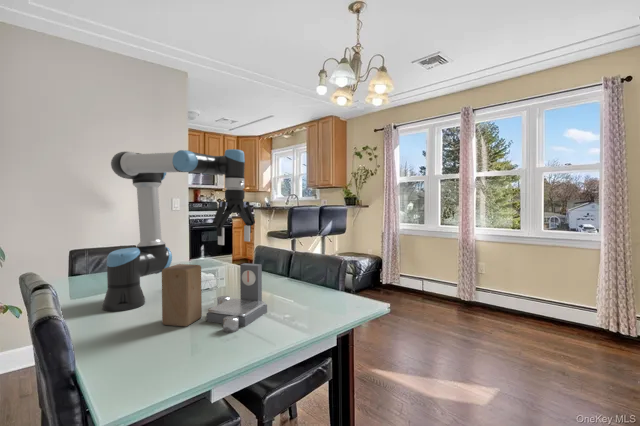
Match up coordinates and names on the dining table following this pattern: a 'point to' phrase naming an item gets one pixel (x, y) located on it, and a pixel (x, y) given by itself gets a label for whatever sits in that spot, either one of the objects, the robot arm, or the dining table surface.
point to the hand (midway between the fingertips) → (234, 243)
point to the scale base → (246, 294)
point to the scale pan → (237, 307)
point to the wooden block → (181, 294)
